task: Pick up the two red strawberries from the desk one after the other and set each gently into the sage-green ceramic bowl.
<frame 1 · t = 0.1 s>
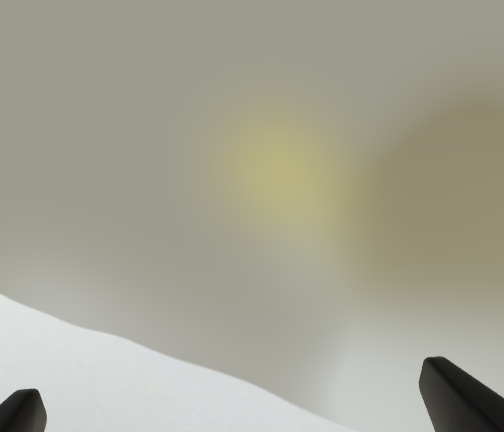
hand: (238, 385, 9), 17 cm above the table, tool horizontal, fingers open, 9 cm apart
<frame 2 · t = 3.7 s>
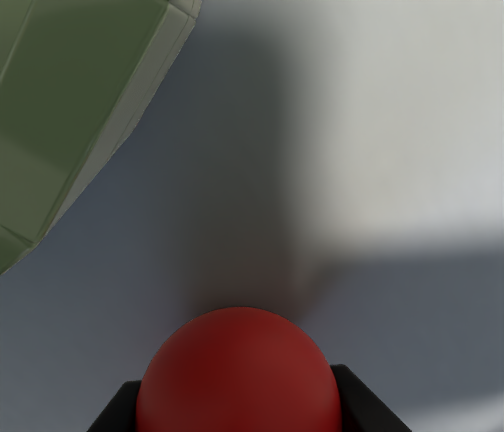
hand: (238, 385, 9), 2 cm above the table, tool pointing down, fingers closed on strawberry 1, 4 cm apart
strawberry 1: (234, 339, 11), on the table, touching gripper
when the fingers open (2 cm above the table, at t = 8.6 s): strawberry 1 stays where it is, resting on bowl.
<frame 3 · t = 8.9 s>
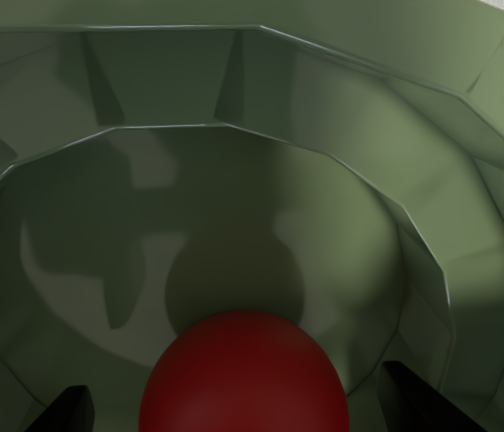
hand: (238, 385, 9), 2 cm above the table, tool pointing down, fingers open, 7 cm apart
strawberry 1: (242, 344, 10), point 1 cm above the table, touching bowl
bowl: (202, 300, 10), on the table
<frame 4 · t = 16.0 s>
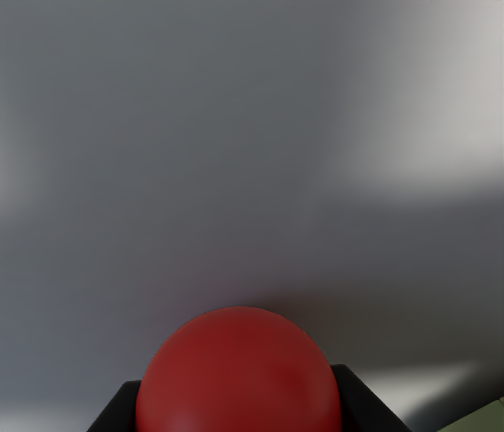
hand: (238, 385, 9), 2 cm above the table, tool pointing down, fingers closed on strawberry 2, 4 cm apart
strawberry 2: (234, 338, 11), on the table, touching gripper
when the fingers open (6 cm above the table, at t = 20.0 s): strawberry 2 stays where it is and tips over, resting on strawberry 1.
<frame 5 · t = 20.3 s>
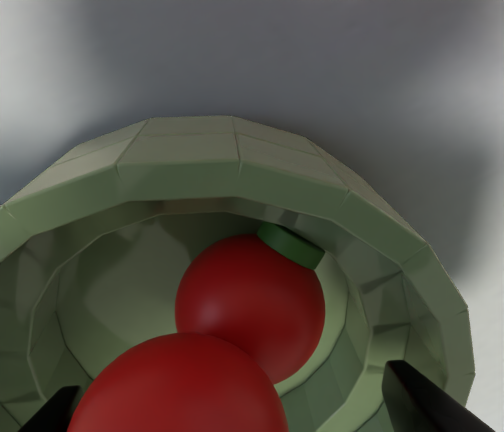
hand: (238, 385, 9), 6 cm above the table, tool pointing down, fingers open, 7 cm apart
strawberry 1: (212, 367, 12), point 3 cm above the table, tilted 102°, touching bowl, strawberry 2
strawberry 2: (243, 373, 10), point 5 cm above the table, tilted 38°, touching gripper, strawberry 1
bowl: (207, 307, 15), on the table
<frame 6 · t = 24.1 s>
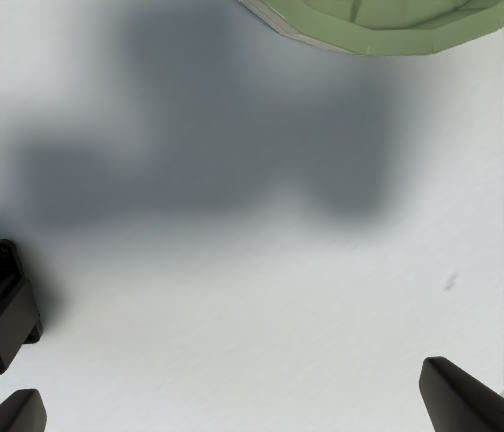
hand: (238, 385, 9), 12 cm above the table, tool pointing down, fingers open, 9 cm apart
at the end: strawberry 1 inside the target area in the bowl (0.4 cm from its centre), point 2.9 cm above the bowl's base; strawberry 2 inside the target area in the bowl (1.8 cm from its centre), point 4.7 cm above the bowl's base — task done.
